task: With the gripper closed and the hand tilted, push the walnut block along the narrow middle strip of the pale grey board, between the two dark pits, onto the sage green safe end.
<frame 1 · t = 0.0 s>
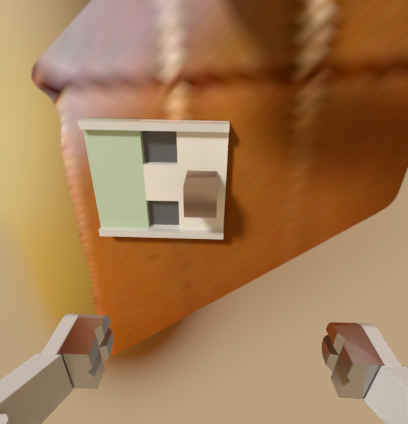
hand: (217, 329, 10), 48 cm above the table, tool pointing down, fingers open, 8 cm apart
walnut block: (201, 184, 56), point 2 cm above the table, touching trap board
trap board: (160, 180, 58), on the table
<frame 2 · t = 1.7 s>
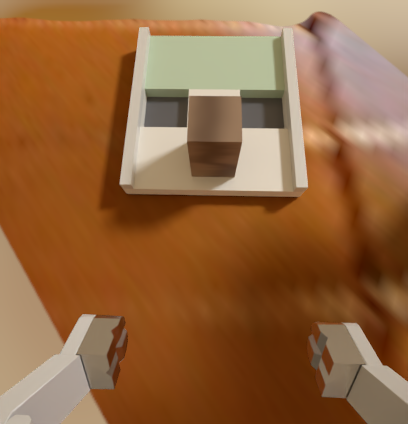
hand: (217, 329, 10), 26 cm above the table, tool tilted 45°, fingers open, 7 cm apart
walnut block: (213, 157, 39), point 2 cm above the table, touching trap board
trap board: (213, 113, 43), on the table
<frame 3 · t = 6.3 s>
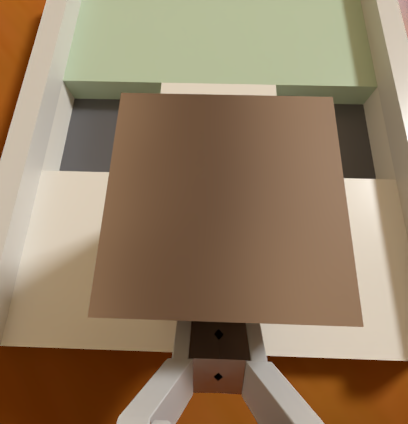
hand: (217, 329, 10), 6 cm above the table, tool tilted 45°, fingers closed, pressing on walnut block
walnut block: (214, 251, 15), point 2 cm above the table, touching gripper
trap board: (216, 137, 20), on the table
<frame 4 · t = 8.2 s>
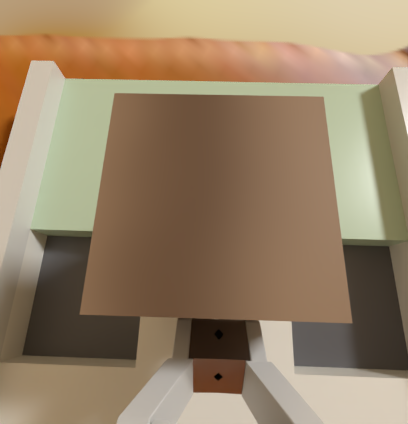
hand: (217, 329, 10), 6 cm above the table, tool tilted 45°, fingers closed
walnut block: (211, 251, 15), point 2 cm above the table, touching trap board
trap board: (215, 289, 17), on the table
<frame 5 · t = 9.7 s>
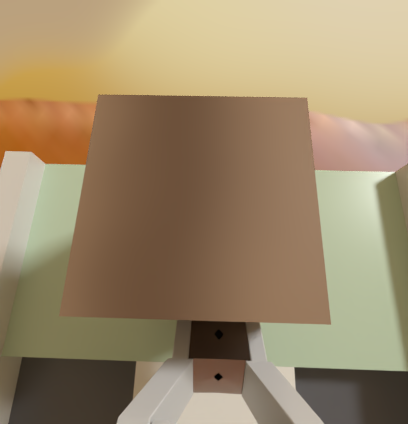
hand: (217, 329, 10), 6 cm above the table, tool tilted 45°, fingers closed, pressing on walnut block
walnut block: (203, 251, 15), point 2 cm above the table, touching gripper, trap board
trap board: (212, 417, 15), on the table
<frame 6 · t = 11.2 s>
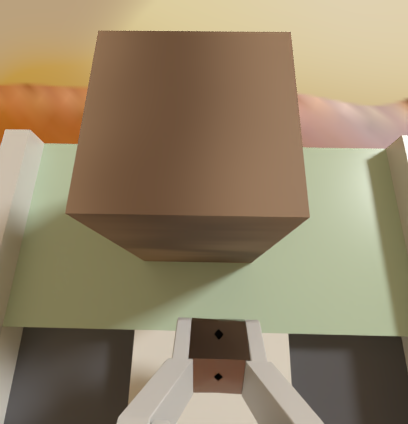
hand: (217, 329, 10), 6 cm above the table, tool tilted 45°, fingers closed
walnut block: (198, 211, 16), point 2 cm above the table, touching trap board
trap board: (209, 385, 15), on the table
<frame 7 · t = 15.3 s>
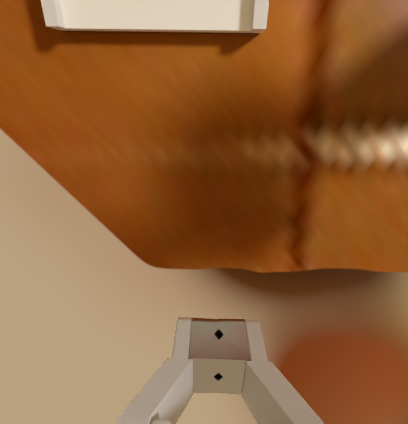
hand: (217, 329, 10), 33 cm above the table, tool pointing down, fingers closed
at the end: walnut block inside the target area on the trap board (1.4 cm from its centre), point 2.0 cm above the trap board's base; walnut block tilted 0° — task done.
